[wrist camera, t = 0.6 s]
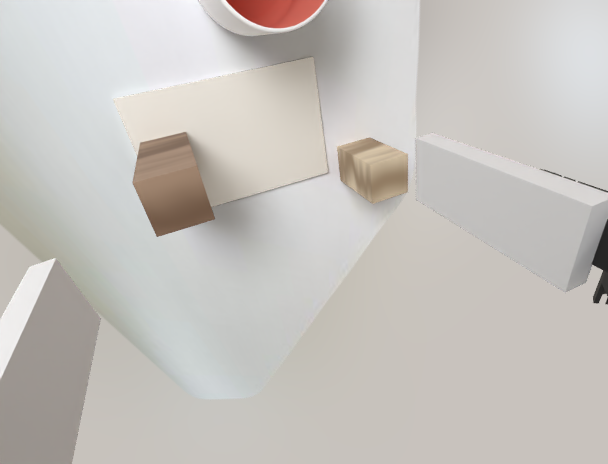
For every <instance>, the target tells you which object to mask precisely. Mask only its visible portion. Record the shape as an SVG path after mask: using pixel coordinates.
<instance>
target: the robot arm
mask: <svg viewBox="0 0 608 464" xmlns="http://www.w3.org/2000/svg"><path fill="white" fill-rule="evenodd" d="M416 200H417V201H419V202H420V203H422V204H423V205H425V206H427V207H428V208H430V209H432V210H433V211H435V212H436V213H438V214H440V215H441V216H443V217H444V218H446V219H448V220H449V221H451V222H453V223H454V224H456V225H457V226H459V227H460V228H462V229H464V230H465V231H467V232H468V233H470V234H472V235H473V236H475V237H477V238H478V239H480V240H481V241H483V242H484V243H486V244H488V245H489V246H491V247H492V248H494V249H496V250H498V251H499V252H501V253H502V254H504V255H505V256H507V257H509V258H510V259H512V260H513V261H515V262H517V263H518V264H520V265H521V266H523V267H525V268H526V269H528V270H529V271H531V272H533V273H534V274H536V275H537V276H539V277H541V278H542V279H544V280H545V281H547V282H549V283H550V284H552V285H553V286H555V287H557V288H558V289H560V290H562V291H563V292H567V291H569V290H571V289H573V288H575V287H578V286H580V285H581V284H584V283H586V281H587V278H588V275H589V273H590V270H591V267H592V265H594V266H596V267H598V268H600V269H602V270H603V273H602V276H601V278H600V281H599V283H598V286H597V288H596V291H595V294H594V296H593V301H594V303H599V301H600V299H601V296H602V294H607V296H608V191H606V190H603V189H600V188H596V187H594V186H591V185H588V184H585V183H582V182H575V180H573V179H570V178H567V177H562V176H561V175H558V174H555V173H552V172H549V171H546V170H542V169H537V168H534V167H531V166H528V165H525V164H522V163H520V162H516V161H513V160H511V159H508V158H505V157H502V156H499V155H496V154H493V153H490V152H487V151H484V150H482V149H479V148H476V147H473V146H470V145H467V144H464V143H461V142H458V141H455V140H452V139H449V138H447V137H444V136H441V135H438V134H435V133H429V134H427V135H424V136H420V137H417V138H416ZM606 304H608V298H607V301H606ZM100 320H101V318H100V317H99V315H98V314H97V313H96V311H95V310H94V309H93V307H92V306H91V304H90V303H89V302H88V300H87V299H86V298H85V296H84V295H83V294H82V292H81V291H80V290H79V288H78V287H77V286H76V284H75V283H74V281H73V280H72V279H71V277H70V276H69V275H68V273H67V272H66V271H65V269H64V268H63V267H62V265H61V264H60V262H59V261H58V260H57V258H54V259H51V260H48V261H45V262H42V263H39V264H36V265H33V266H30V267H29V269H28V270H27V272H26V274H25V276H24V278H23V279H22V281H21V283H20V285H19V287H18V288H17V290H16V292H15V294H14V296H13V297H12V299H11V301H10V303H9V305H8V306H7V308H6V310H5V312H4V314H3V315H2V317H1V319H0V464H72V460H73V455H74V450H75V445H76V440H77V435H78V430H79V425H80V420H81V415H82V410H83V405H84V400H85V395H86V390H87V385H88V379H89V375H90V370H91V365H92V360H93V355H94V350H95V345H96V340H97V335H98V330H99V325H100Z"/></svg>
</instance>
